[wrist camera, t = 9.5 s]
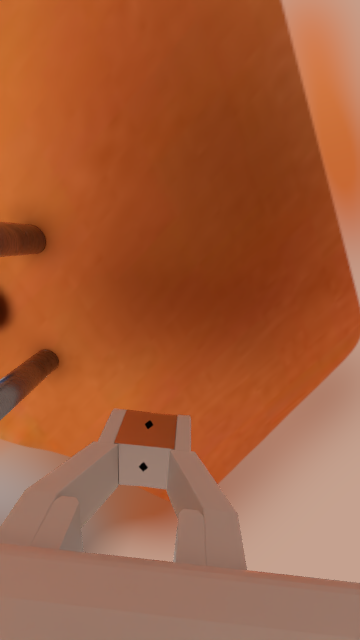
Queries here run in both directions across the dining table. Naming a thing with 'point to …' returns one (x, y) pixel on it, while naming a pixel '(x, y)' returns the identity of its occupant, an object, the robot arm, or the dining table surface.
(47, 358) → the far post
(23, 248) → the near post
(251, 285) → the dining table surface
